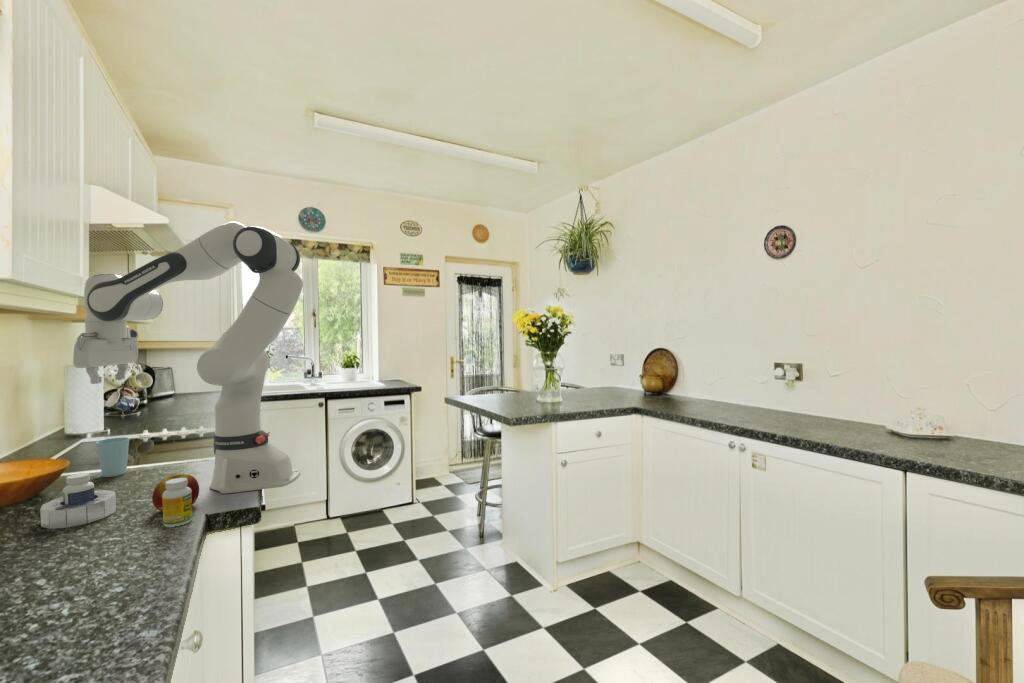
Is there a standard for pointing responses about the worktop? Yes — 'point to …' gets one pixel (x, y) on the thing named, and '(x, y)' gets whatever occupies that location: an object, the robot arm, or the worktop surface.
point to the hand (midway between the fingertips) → (108, 381)
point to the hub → (77, 511)
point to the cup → (113, 456)
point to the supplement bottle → (177, 503)
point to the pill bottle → (78, 489)
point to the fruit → (161, 489)
